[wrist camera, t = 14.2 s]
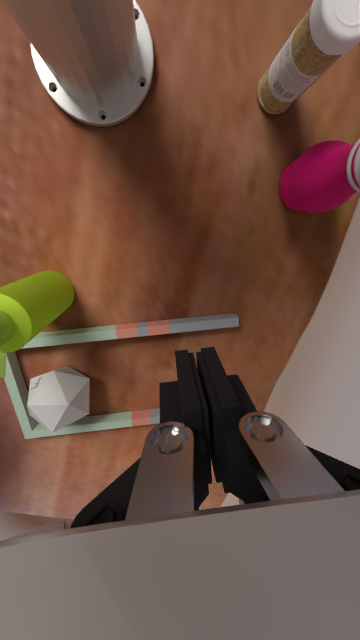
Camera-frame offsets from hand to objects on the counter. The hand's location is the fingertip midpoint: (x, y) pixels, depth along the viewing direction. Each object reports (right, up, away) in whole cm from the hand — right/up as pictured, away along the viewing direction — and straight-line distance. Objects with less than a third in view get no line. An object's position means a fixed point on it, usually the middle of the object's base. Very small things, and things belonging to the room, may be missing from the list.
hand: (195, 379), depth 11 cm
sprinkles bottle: (+10, +29, +20) cm, 37 cm away
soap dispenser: (-18, +6, +25) cm, 32 cm away
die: (-18, -7, +30) cm, 36 cm away
